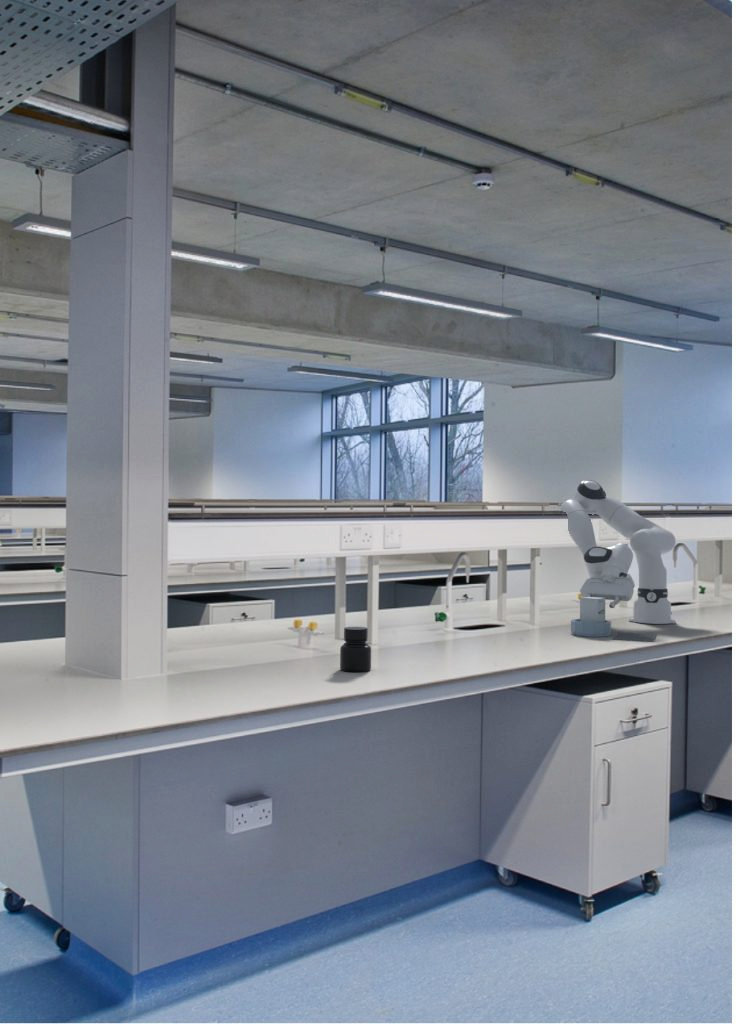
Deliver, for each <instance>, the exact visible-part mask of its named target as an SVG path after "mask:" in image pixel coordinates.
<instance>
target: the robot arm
mask: <svg viewBox="0 0 736 1024" xmlns="http://www.w3.org/2000/svg"><path fill="white" fill-rule="evenodd" d="M576 489H577V490H576V491H575V492H574V493H575V494H574V495H573V497H572V499H568V500H566V501H564V502H563V503H562V504H561V506H560V507H559V512H560V511H563V512H566V514H567V516H568V531H569V534H570V535H569V534H568V535H569V536H570V538H571V540H572V541H573V542H574V543H575V545H576V546H577V545H578V546H577V548H578V549H579V550H580V552H581V554H582V556H583V560H584V563H585V566H586V569H587V570H586V571H587V572H588V576H589V578H587V579H585V581H584V582H583V585H582V586H581V587H580V590H579V593H580V596H581V598H584V597H602V598H605V601H607V600H608V601H610V603H609V605H608V606H609V608H610V609H615V607H616V605H618V604H620V603H621V602H622V601H623V602H629V601H631V600H632V598H633V595H634V593H635V590H634V588H636V587H635V586H636V585H635V582H634V579H633V577H632V575H631V574H630V573H628V572H629V570H630V568H631V566H632V563H633V559H634V554H635V558H636V562H637V567H638V587H637V598H636V599H635V600H634V601H633V612H632V614H633V616H632V617H629V618H628V621H629V622H634V623H635V622H636V623H640V624H649V625H651V624H653V625H654V624H655V625H658V624H659V625H665V624H666V625H667V624H677V620H676V619H674V618H672V614H673V613H672V603H671V601H669V600H668V595H669V591H668V588H667V586H668V585H667V573H668V572H667V568H666V567H665V565H664V562H663V558H662V555H665V554H667V553H669V552H671V551H672V550H673V549H674V548H675V546H676V537H675V535H674V533H672V532H671V531H670V530H667V529H666V528H663V527H662V526H660V525H658V524H656V523H655V522H654V521H651V520H649V519H647V518H646V517H644V516H642V515H640V514H639V513H638V512H636V511H635V510H633V509H632V508H631V507H629V506H628V505H626V504H625V503H624V502H622V501H620V500H618V499H616V498H615V497H612V496H610V495H607V493H606V491H605V490H604V489H603V487H602V486H601V485H600V484H599V482H597V481H595V480H591V479H586V480H585V479H584V480H582V481H581V482H580V483H579V484H578V486H577V488H576ZM588 514H592V515H594V514H595V515H597V516H599V517H600V518H601V519H602V520H603V522H605V523H606V524H607V525H609V526H610V527H611V528H612V529H614V530H615V531H617V532H618V534H620V535H621V536H623V537H625V538H627V539H629V544H630V545H629V546H628V545H627V544H624V543H617V544H614V545H612V546H607V547H603V546H597V540H596V537H595V532H594V531H595V530H594V526H593V521H592V522H591V519H590V517H589V515H588ZM595 515H594V516H595Z"/></svg>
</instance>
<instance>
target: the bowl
mask: <svg viewBox="0 0 736 1024" xmlns="http://www.w3.org/2000/svg"><path fill="white" fill-rule="evenodd" d="M570 633H571V635H573V636H577V637H586V638H605V637H611V636H612V621H611V620H608V619H605V623H584V622H580V618H575V619H573V618H572V619H571V620H570Z"/></svg>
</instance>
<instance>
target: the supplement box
mask: <svg viewBox="0 0 736 1024" xmlns="http://www.w3.org/2000/svg"><path fill="white" fill-rule="evenodd" d="M579 619H580V622H584V623H605V620H606V599H605V598H602V597H584V598H583V597H580V598H579Z"/></svg>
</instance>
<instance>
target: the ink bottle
mask: <svg viewBox="0 0 736 1024" xmlns="http://www.w3.org/2000/svg"><path fill="white" fill-rule="evenodd" d="M368 631H369V629H368V627H366V626H347V627H344V628H343V640H344V643H343V644H342V645H341V646H340V650H339V651H340V654H339V655H340V656H339V658H340V659H339V669H340V670H341V671H343V672H349V673H363V672H369V671H370V670H371V669H372V646H371V645H369V643H367V642H368V638H369V637H368V634H369V632H368Z"/></svg>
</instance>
